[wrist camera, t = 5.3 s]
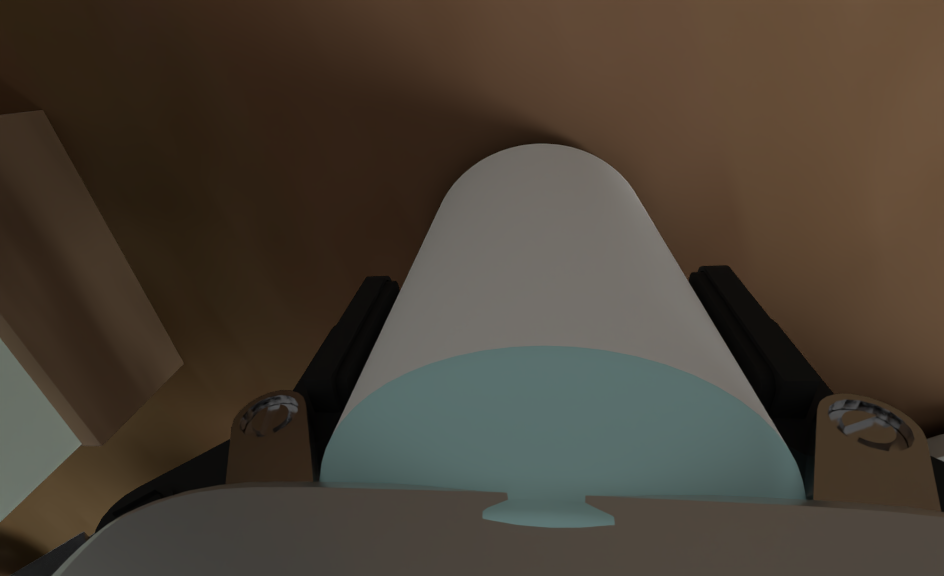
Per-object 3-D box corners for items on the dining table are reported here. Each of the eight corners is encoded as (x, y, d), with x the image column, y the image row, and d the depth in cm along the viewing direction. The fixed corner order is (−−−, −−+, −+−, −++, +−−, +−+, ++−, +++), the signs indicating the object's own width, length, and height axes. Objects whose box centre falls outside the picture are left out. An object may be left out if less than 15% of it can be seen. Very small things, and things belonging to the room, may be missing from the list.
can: (453, 330, 18) (354, 746, 8) (417, 152, 14) (145, 484, 4) (638, 320, 17) (809, 795, 7) (648, 124, 13) (1050, 486, 3)
